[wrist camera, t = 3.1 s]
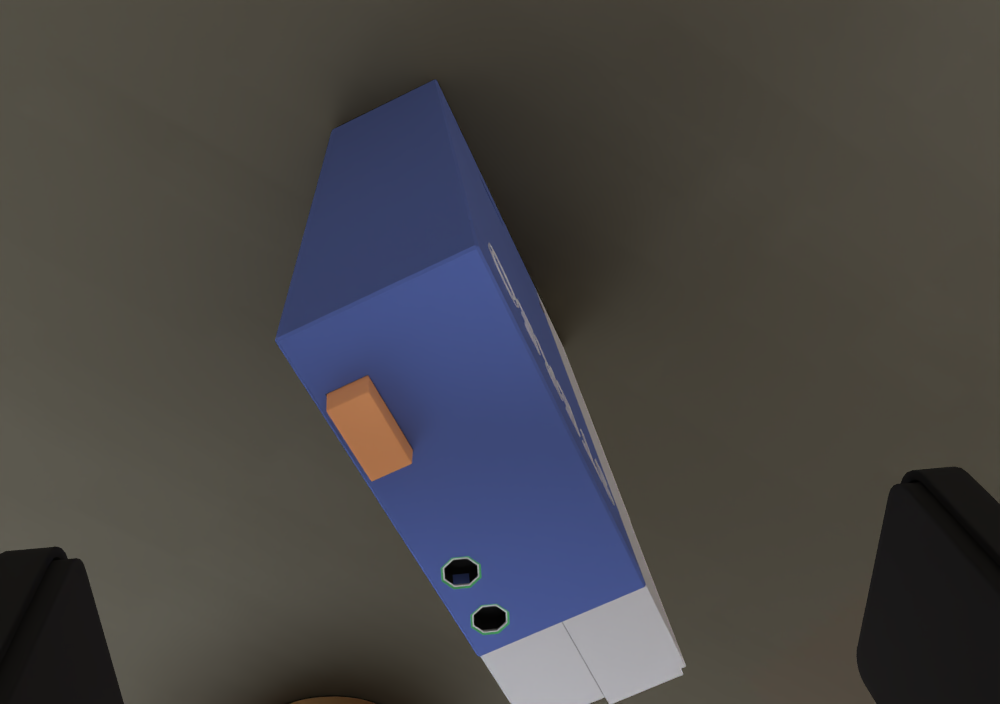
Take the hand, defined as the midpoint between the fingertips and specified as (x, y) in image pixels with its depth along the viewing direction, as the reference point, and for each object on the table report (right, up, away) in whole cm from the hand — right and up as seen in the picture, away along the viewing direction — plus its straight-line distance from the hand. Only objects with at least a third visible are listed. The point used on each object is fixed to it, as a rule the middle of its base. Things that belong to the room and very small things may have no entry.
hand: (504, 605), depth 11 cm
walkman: (-1, +6, +12) cm, 14 cm away
